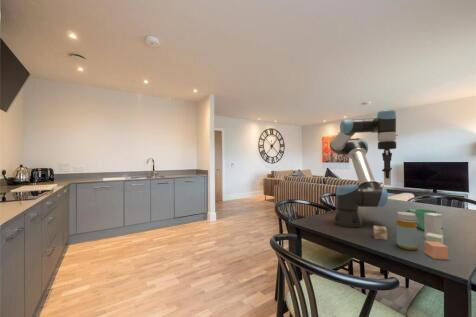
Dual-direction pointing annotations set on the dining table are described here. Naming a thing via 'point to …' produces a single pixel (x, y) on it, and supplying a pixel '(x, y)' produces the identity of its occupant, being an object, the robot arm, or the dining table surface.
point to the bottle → (406, 231)
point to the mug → (421, 216)
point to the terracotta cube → (436, 250)
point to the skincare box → (433, 223)
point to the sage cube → (434, 237)
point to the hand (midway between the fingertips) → (387, 183)
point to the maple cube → (380, 232)
